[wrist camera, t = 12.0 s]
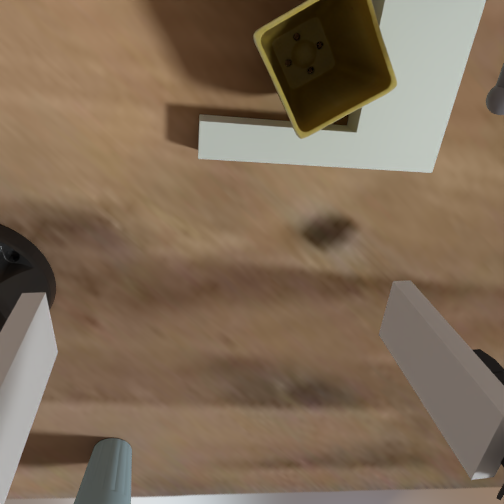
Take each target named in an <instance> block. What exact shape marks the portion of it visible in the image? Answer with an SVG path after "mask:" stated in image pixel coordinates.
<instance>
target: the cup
mask: <svg viewBox="0 0 504 504" xmlns="http://www.w3.org/2000/svg"><path fill="white" fill-rule="evenodd" d="M131 464H132V450H131V446H130V445H129V444H128V443H127V442H126V441H124V440H121V439H117V438H108V439H104V440H101V441H100V442H98V443H97V444H96V445H95V447H94V449H93V452H92V454H91V457H90V460H89V463H88V466H87V468H86V471H85V474H84V477H83V480H82V482H81V485H80V488H79V491H78V494H77V496H76V499H75V502H74V504H131Z"/></svg>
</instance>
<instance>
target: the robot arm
mask: <svg viewBox="0 0 504 504" xmlns="http://www.w3.org/2000/svg"><path fill="white" fill-rule="evenodd" d="M55 293H56V283H55V277H54V274H53V271H52V269H51V267H50V265H49V263H48V261H47V260H46V258H45V257H44V255H43V254H42V253H41V252H40V251H39V249H38V248H37V247H36V246H35V245H34V244H32V243H31V242H30V241H29V240H27V239H26V238H25V237H23V236H22V235H20V234H19V233H17V232H15V231H13V230H11V229H9V228H7V227H5V226H2V225H0V504H4V503H5V500H6V497H7V495H8V492H9V489H10V486H11V483H12V480H13V478H14V475H15V472H16V469H17V466H18V463H19V461H20V458H21V455H22V452H23V449H24V446H25V444H26V441H27V438H28V435H29V432H30V430H31V427H32V424H33V421H34V418H35V415H36V413H37V410H38V407H39V404H40V401H41V398H42V396H43V393H44V390H45V387H46V384H47V381H48V379H49V376H50V373H51V370H52V367H53V365H54V362H55V359H56V356H57V353H58V350H57V345H56V341H55V336H54V331H53V326H52V321H51V316H50V311H49V310H50V308H51V306H52V304H53V302H54V298H55ZM379 336H380V337H381V339H382V340H383V342H384V344H385V345H386V347H387V348H388V350H389V351H390V353H391V355H392V356H393V358H394V359H395V361H396V362H397V364H398V366H399V367H400V369H401V370H402V372H403V373H404V375H405V377H406V378H407V380H408V381H409V383H410V384H411V386H412V388H413V389H414V391H415V392H416V394H417V395H418V397H419V399H420V400H421V402H422V403H423V405H424V406H425V408H426V410H427V411H428V413H429V414H430V416H431V417H432V419H433V421H434V422H435V424H436V425H437V427H438V428H439V430H440V432H441V433H442V435H443V436H444V438H445V439H446V441H447V443H448V444H449V446H450V447H451V449H452V450H453V452H454V454H455V455H456V457H457V458H458V460H459V461H460V463H461V465H462V466H463V468H464V469H465V471H466V472H467V474H468V476H469V477H470V479H471V480H473V479H481V478H489V477H494V476H495V474H496V472H497V470H498V469H499V467H500V465H501V464H502V465H503V467H504V369H503V368H502V367H501V366H500V364H499V363H498V362H497V361H496V360H495V359H494V358H492V357H491V356H489V355H488V354H486V353H485V352H483V351H482V350H480V349H477V350H472V349H471V348H470V347H469V346H468V345H467V344H466V342H465V341H464V340H463V339H462V338H461V337H460V336H459V335H458V333H457V332H456V331H455V330H454V329H453V328H452V327H451V326H450V324H449V323H448V322H447V321H446V320H445V319H444V318H443V317H442V315H441V314H440V313H439V312H438V311H437V310H436V309H435V308H434V306H433V305H432V304H431V303H430V302H429V301H428V300H427V299H426V297H425V296H424V295H423V294H422V293H421V292H420V291H419V290H418V288H417V287H416V286H415V285H414V284H413V283H412V282H411V281H393V284H392V287H391V291H390V295H389V299H388V302H387V306H386V310H385V314H384V317H383V321H382V325H381V328H380V332H379ZM503 495H504V484H503V486H502V488H501V489H500V491H499V493H498V495H497V499H499V500H501V498H502V497H503Z"/></svg>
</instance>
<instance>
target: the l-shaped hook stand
mask: <svg viewBox="0 0 504 504" xmlns="http://www.w3.org/2000/svg"><path fill="white" fill-rule="evenodd" d="M485 2H486V0H372V3H373V6H374V9H375V13H376V17H377V20H378V24H379V27H380V31H381V34H382V37H383V40H384V43H385V46H386V49H387V52H388V55H389V58H390V61H391V64H392V67H393V70H394V73H395V76H396V79H397V86H396V87H395V89H393V90H392V91H391V92H389V93H388V94H386V95H384V96H382V97H380V98H378V99H376V100H375V101H373V102H371V103H369V104H367V105H365V106H363V107H361V108H359V109H357V110H356V111H354V112H352V113H350V114H349V117H348V122H347V125H334V124H330V125H328V126H326V127H325V128H323V129H321V130H320V131H318V132H316V133H314V134H312V135H310V136H308V137H306V138H303V139H300V138H299V137H298V136H297V135H296V133H295V131H294V129H293V127H292V124H291V122H290V121H281V120H268V119H255V118H242V117H229V116H216V115H202V114H199V136H198V159H211V160H228V161H244V162H261V163H278V164H294V165H311V166H328V167H344V168H361V169H378V170H394V171H411V172H427V173H432V171H433V168H434V165H435V162H436V158H437V155H438V152H439V149H440V146H441V142H442V139H443V136H444V133H445V130H446V127H447V123H448V120H449V117H450V114H451V111H452V107H453V104H454V101H455V98H456V95H457V91H458V88H459V85H460V82H461V79H462V76H463V72H464V69H465V66H466V63H467V60H468V56H469V53H470V50H471V47H472V44H473V40H474V37H475V34H476V31H477V28H478V25H479V21H480V18H481V15H482V12H483V9H484V5H485ZM486 105H487V108H488V109H489V111H491V112H492V113H494V114H497V115H504V64H503V67H502V70H501V72H500V75H499V78H498V81H497V84H496V86H495V87H493V88H492V89H491V90H490V92H489V93H488V95H487V98H486Z"/></svg>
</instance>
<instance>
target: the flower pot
mask: <svg viewBox="0 0 504 504" xmlns="http://www.w3.org/2000/svg"><path fill="white" fill-rule="evenodd" d="M296 33H298V34H299V35H300V38H299V40H295V39H294V35H295V34H296ZM253 40H254V43H255V45H256V47H257V49H258V51H259V53H260V56H261V58H262V60H263V62H264V64H265V66H266V69H267V71H268V73H269V75H270V78H271V80H272V82H273V84H274V86H275V89H276V91H277V93H278V95H279V98H280V100H281V102H282V104H283V106H284V109H285V111H286V113H287V115H288V117H289V120H290V122H291V124H292V127H293V129H294V131H295V133H296V135H297V136H298V137H299V138H300V139H303V138H306V137H308V136H310V135H312V134H314V133H316V132H318V131H320V130H321V129H323V128H325V127H326V126H328V125H330V124H332V123H334V122H336V121H337V120H339V119H341V118H343V117H345V116H346V115H348V114H350V113H352V112H354V111H356V110H357V109H359V108H361V107H363V106H365V105H367V104H369V103H371V102H373V101H375V100H376V99H378V98H380V97H382V96H384V95H386V94H388V93H389V92H391V91H392V90H393V89H395V87H396V86H397V79H396V76H395V73H394V70H393V67H392V64H391V61H390V58H389V55H388V52H387V49H386V46H385V43H384V40H383V37H382V34H381V31H380V27H379V24H378V20H377V17H376V13H375V9H374V6H373V3H372V0H307V1H305V2H303V3H302V4H300V5H298V6H297V7H295V8H293V9H291V10H290V11H288V12H286V13H285V14H283V15H281V16H279V17H278V18H276V19H274V20H273V21H271V22H269V23H267V24H266V25H264V26H262V27H260V28H259V29H257V30H256V31H255V32H254V34H253ZM318 42H321V43H322V47H321V48H320V49H318V48H317V47H316V44H317V43H318ZM286 60H290V61H291V65H290V66H286V64H285V62H286ZM310 67H312V68H313V72H312V73H311V74H309V73H308V68H310Z"/></svg>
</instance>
